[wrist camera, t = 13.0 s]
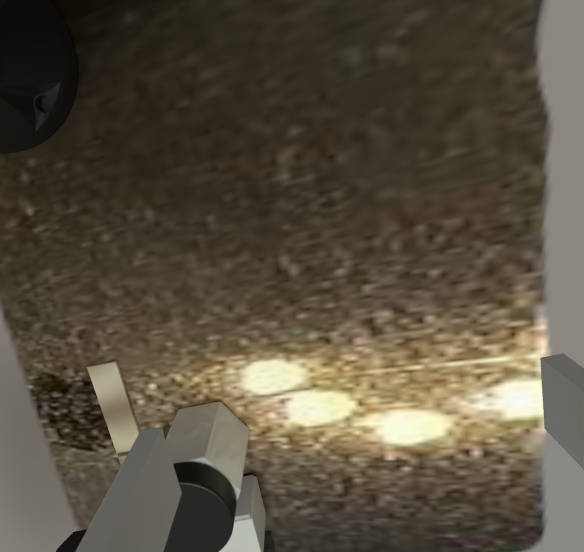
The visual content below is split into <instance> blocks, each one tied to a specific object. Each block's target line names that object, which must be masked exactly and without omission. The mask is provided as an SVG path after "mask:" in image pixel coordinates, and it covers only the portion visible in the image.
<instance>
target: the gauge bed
mask: <svg viewBox="0 0 584 552" xmlns="http://www.w3.org/2000/svg"><path fill="white" fill-rule="evenodd" d="M87 369H88V372H89V375H90V377H91V380H92V383H93V386H94V389H95V392H96V395H97V398H98V400H99V403H100V406H101V409H102V412H103V415H104V418H105V421H106V423H107V426H108V429H109V432H110V435H111V438H112V441H113V444H114V447H115V449H116V452H117V455H118V458H119V461H120V464H121V466H122V464H123V462H124V460H125V459H126V457H127V455H128V453H129V451H130V449H131V447H132V446H133V444H134V442H135V440H136V438H137V436H138V434H139V433H140V429H139V426H138V423H137V420H136V417H135V414H134V411H133V408H132V405H131V402H130V399H129V396H128V392H127V389H126V386H125V383H124V380H123V377H122V374H121V371H120V368H119V365H118V362H117V360H116V361H110V362H105V363H100V364H95V365H89V366H88V367H87Z"/></svg>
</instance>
